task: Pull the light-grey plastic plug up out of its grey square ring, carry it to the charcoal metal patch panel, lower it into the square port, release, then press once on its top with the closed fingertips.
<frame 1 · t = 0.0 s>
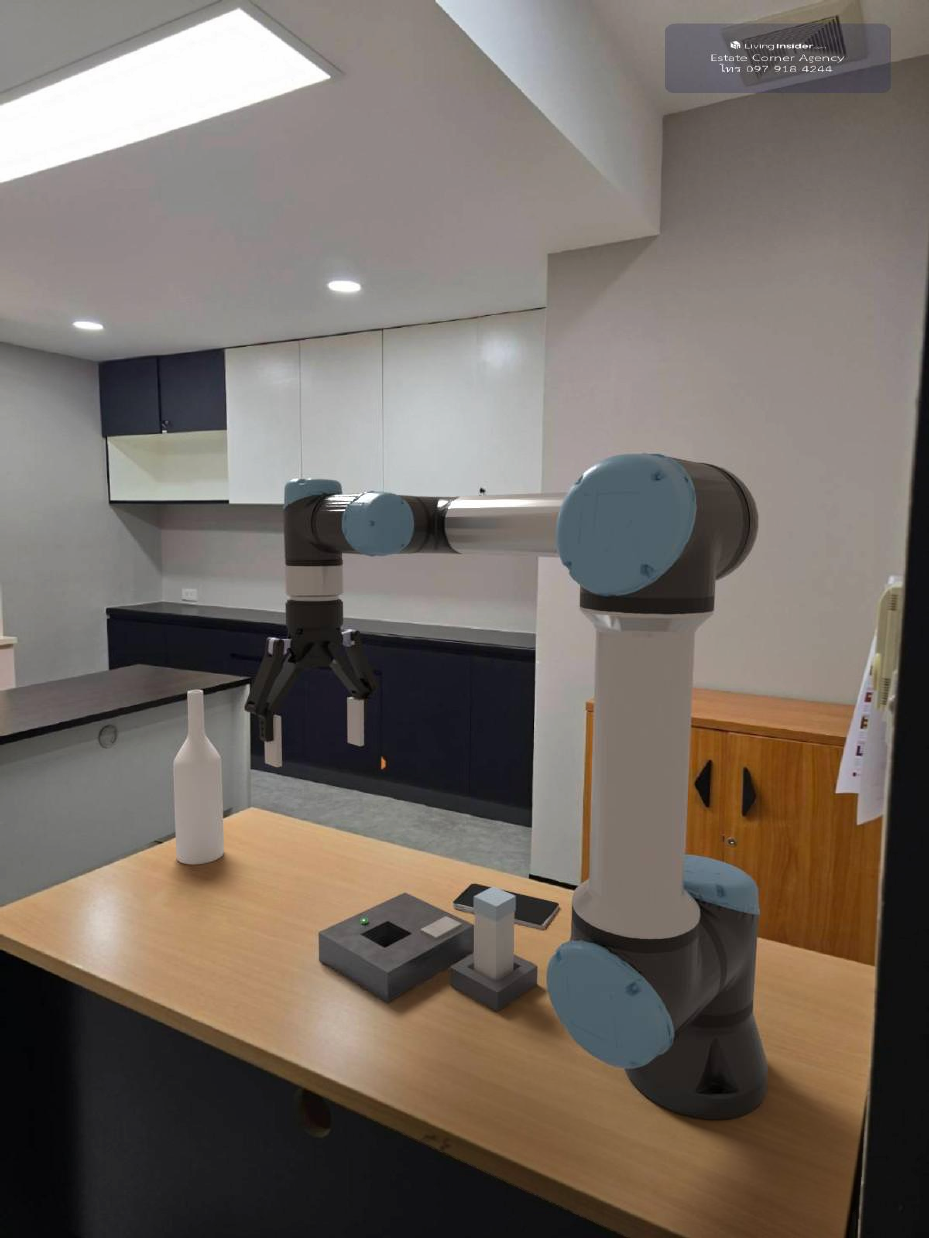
hand: (316, 754, 104), 28 cm above the counter, fingers open, 13 cm apart
plug: (494, 940, 98), in the grey square ring
smartphone: (505, 911, 120), on the counter
grey square ring: (493, 984, 99), on the counter
bottle: (200, 856, 138), on the counter
panel: (397, 955, 106), on the counter
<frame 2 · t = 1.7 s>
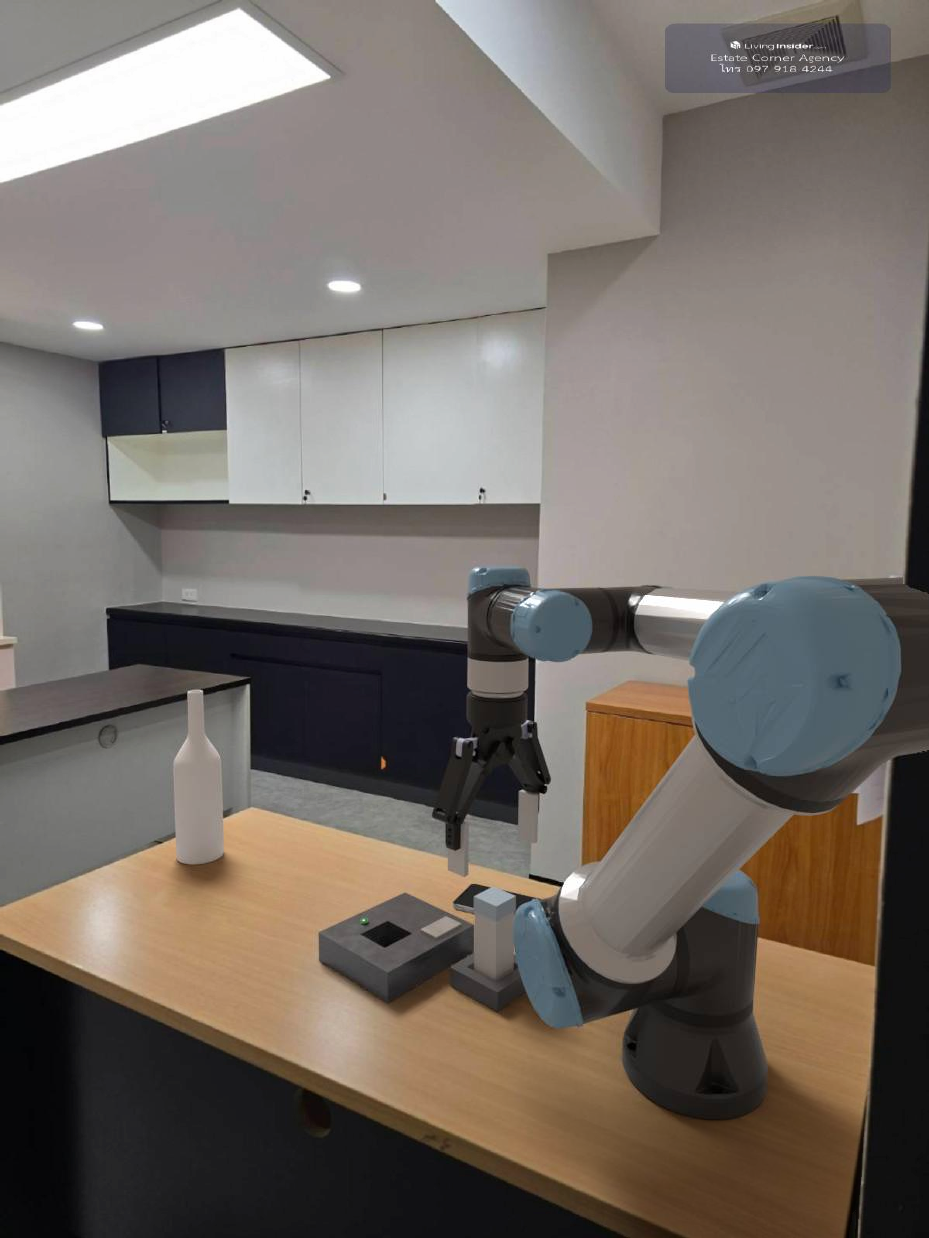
hand: (494, 855, 97), 17 cm above the counter, fingers open, 13 cm apart
nothing on the counter moved.
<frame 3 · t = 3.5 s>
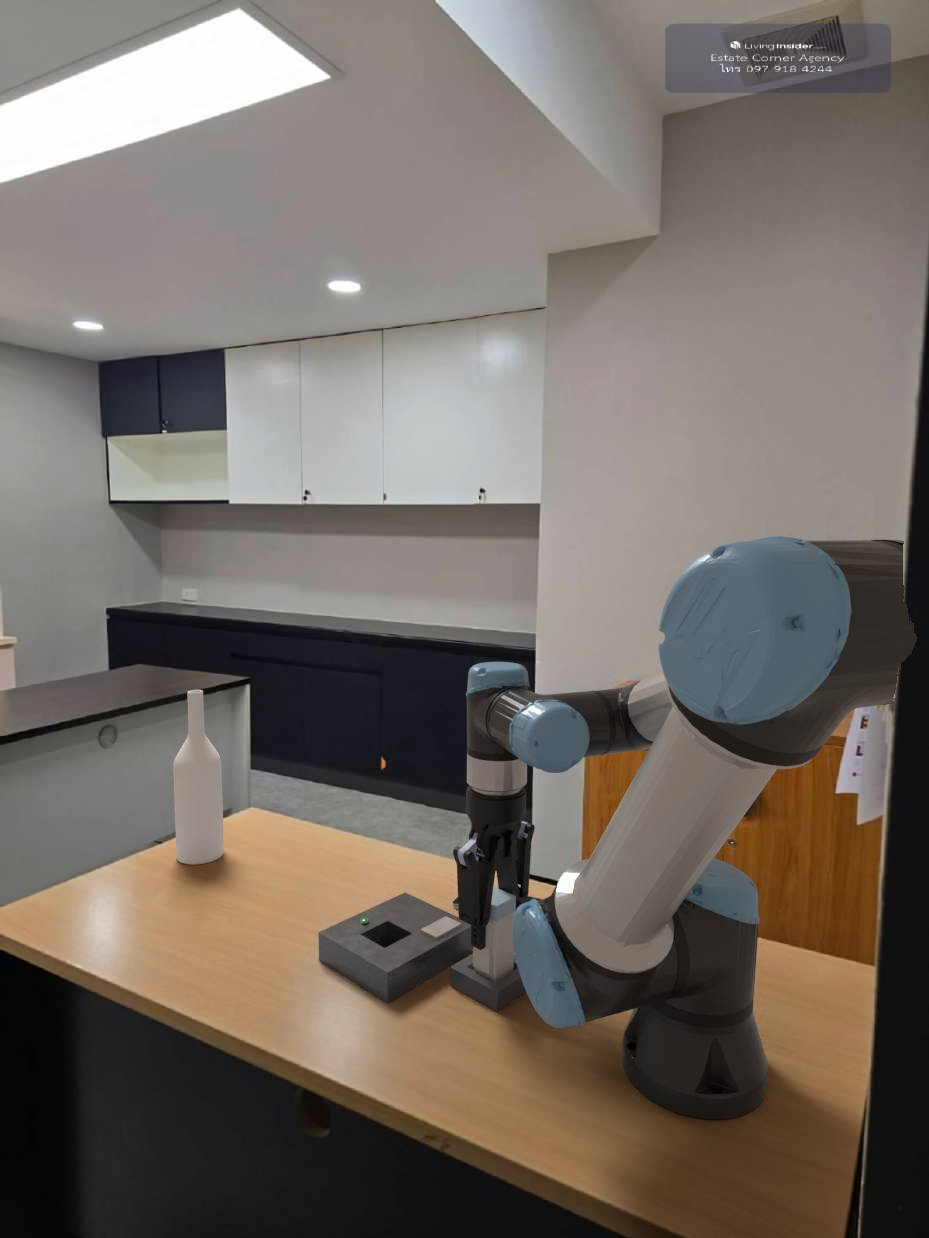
hand: (493, 961, 99), 3 cm above the counter, fingers closed on plug, 4 cm apart
plug: (494, 940, 98), in the grey square ring, touching gripper
everything else where it was.
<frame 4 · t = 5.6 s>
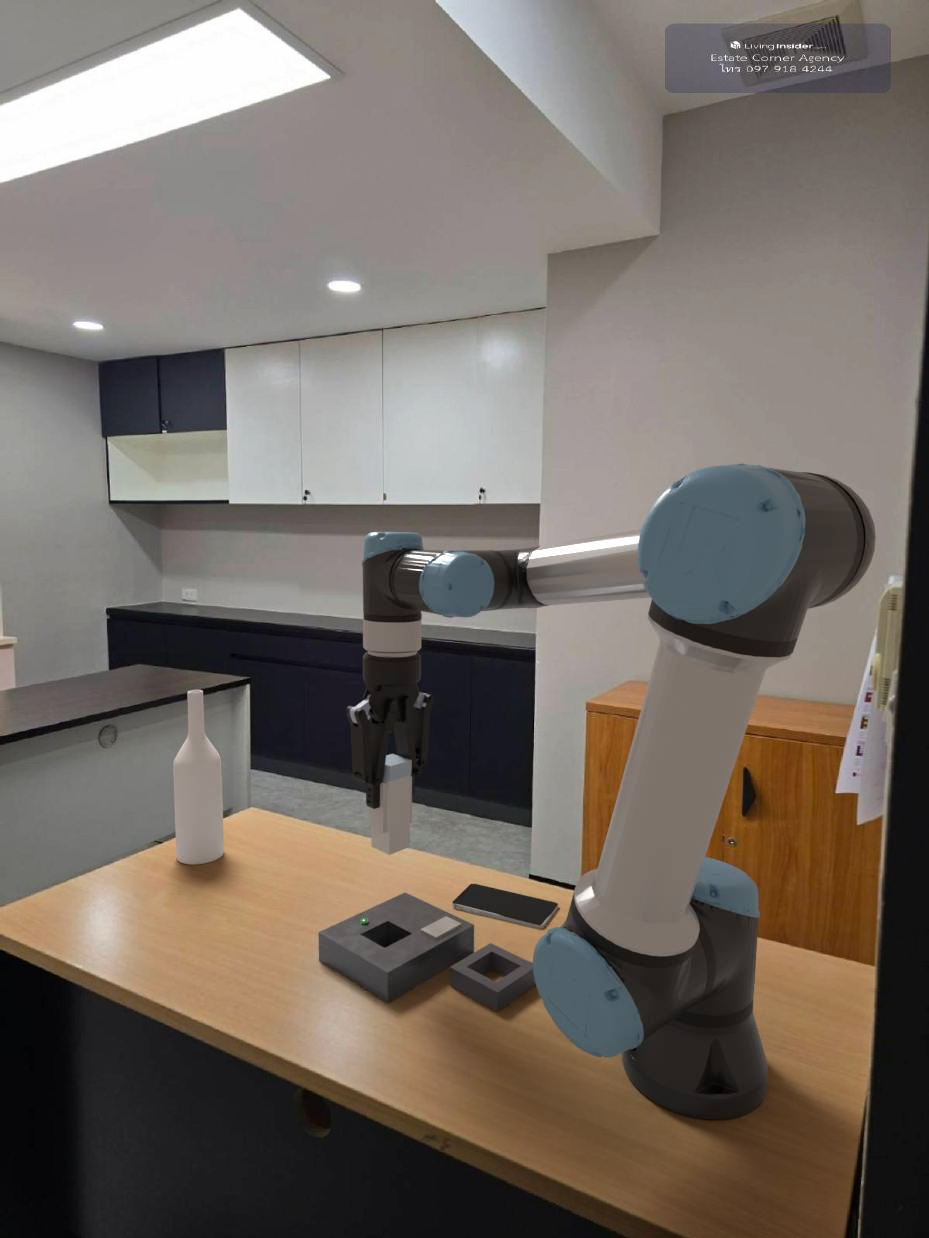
hand: (390, 824, 102), 19 cm above the counter, fingers closed on plug, 4 cm apart
plug: (390, 803, 102), point 22 cm above the counter, touching gripper
everything else where it was.
when the fingers open (5 cm above the counter, at t = 8.0 s): plug drops 2 cm, resting in panel.
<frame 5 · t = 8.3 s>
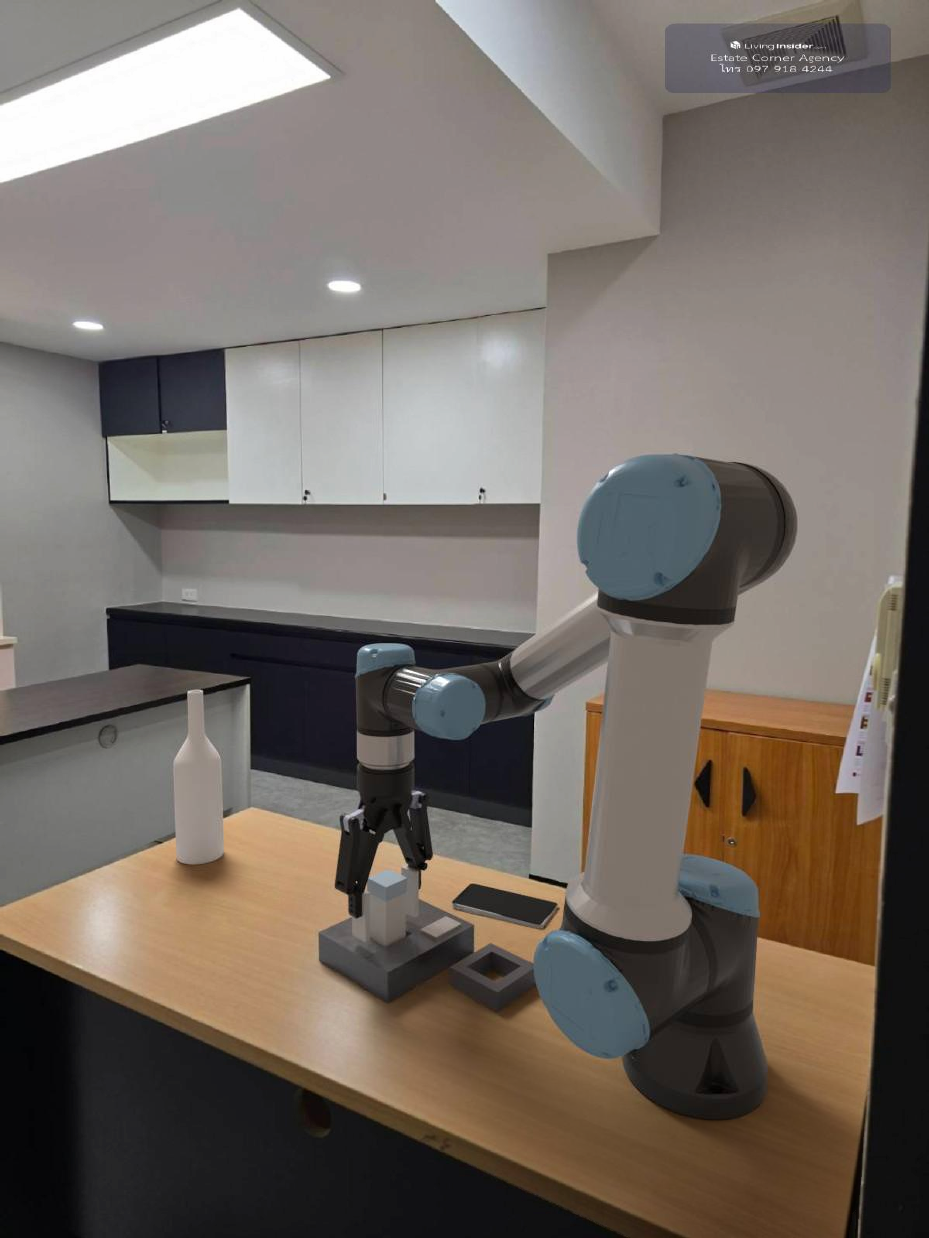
hand: (386, 924, 104), 5 cm above the counter, fingers open, 8 cm apart
plug: (386, 920, 103), in the panel
everything else where it was.
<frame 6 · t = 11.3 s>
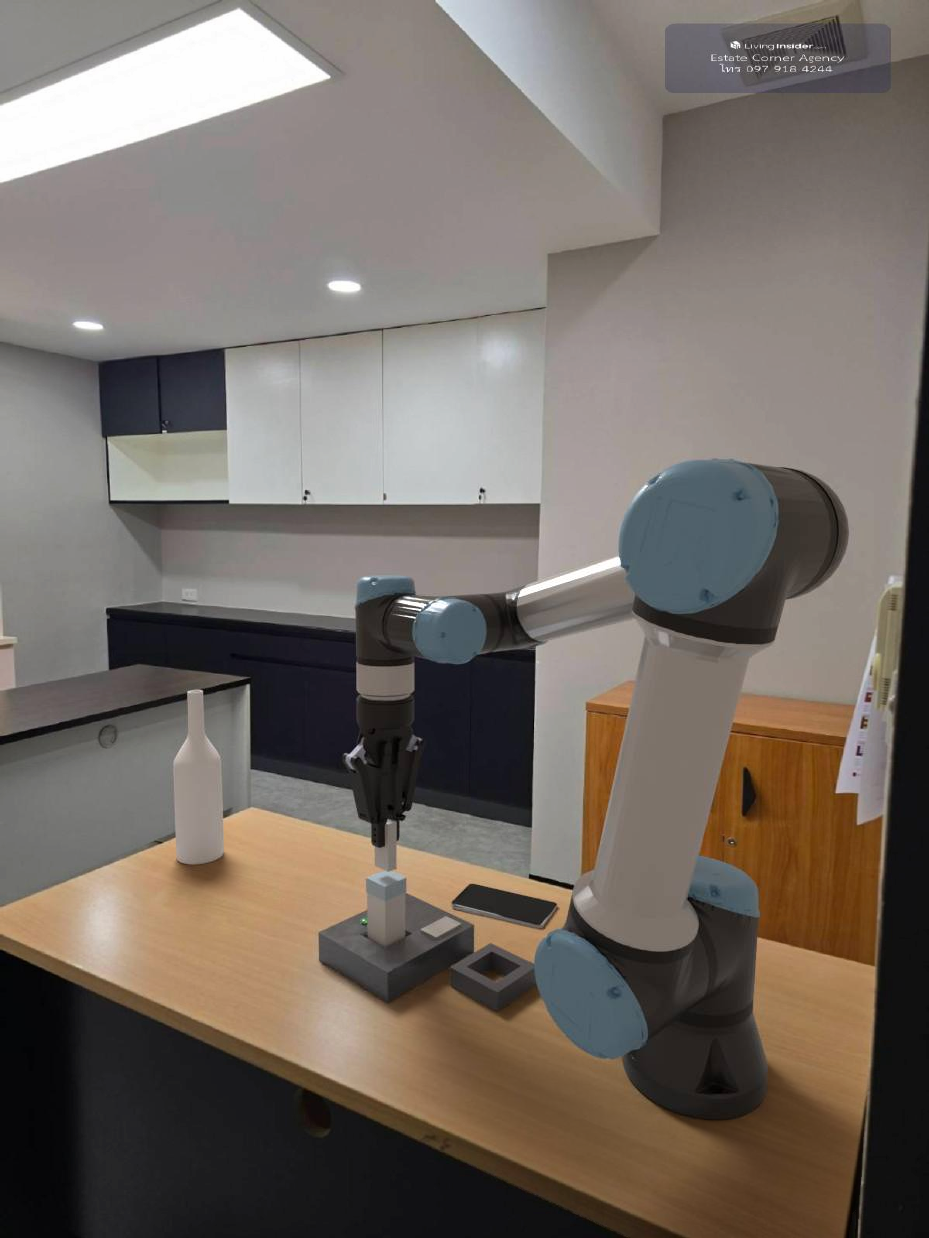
hand: (385, 866, 103), 13 cm above the counter, fingers closed
nothing on the counter moved.
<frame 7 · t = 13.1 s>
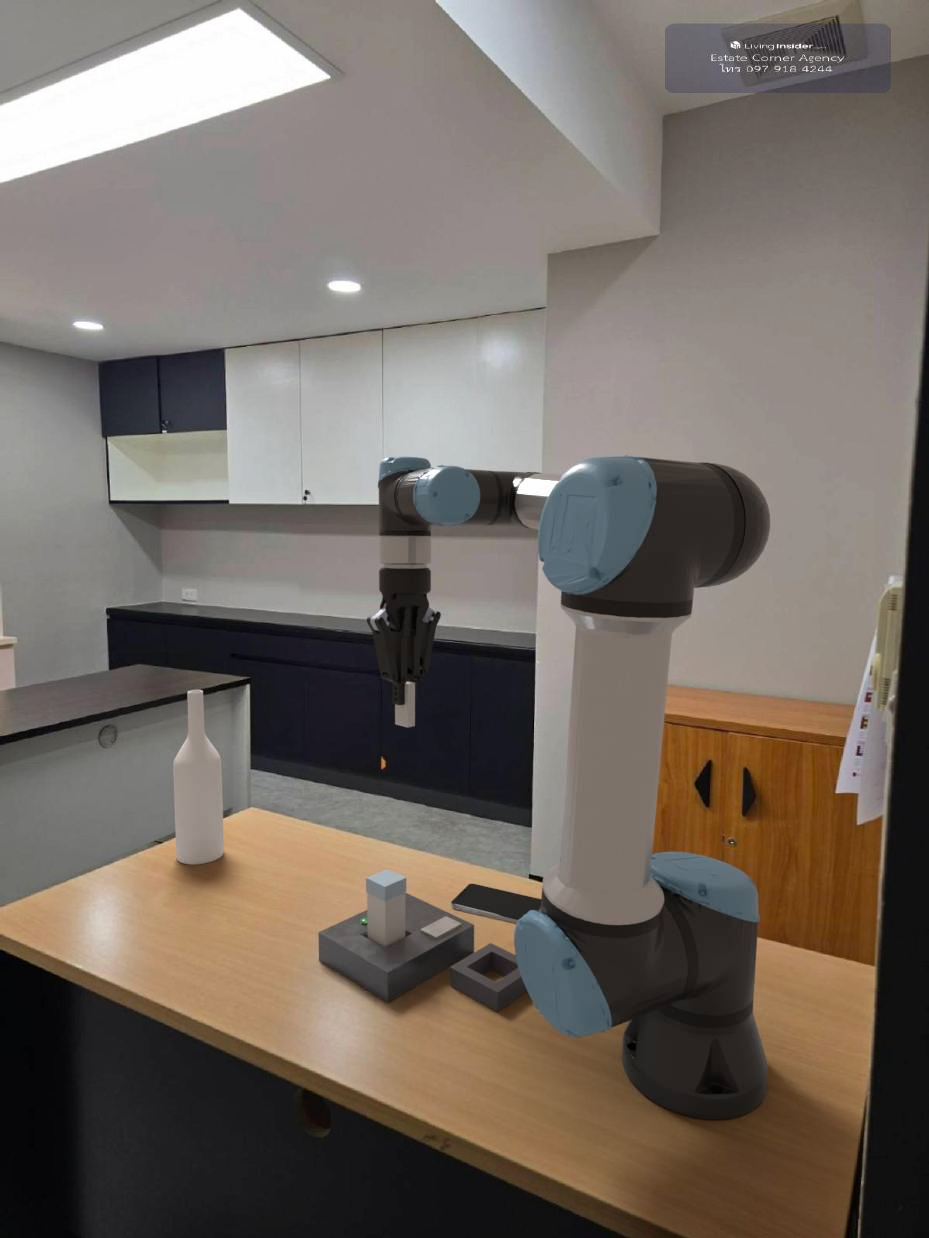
hand: (404, 724, 114), 29 cm above the counter, fingers closed
nothing on the counter moved.
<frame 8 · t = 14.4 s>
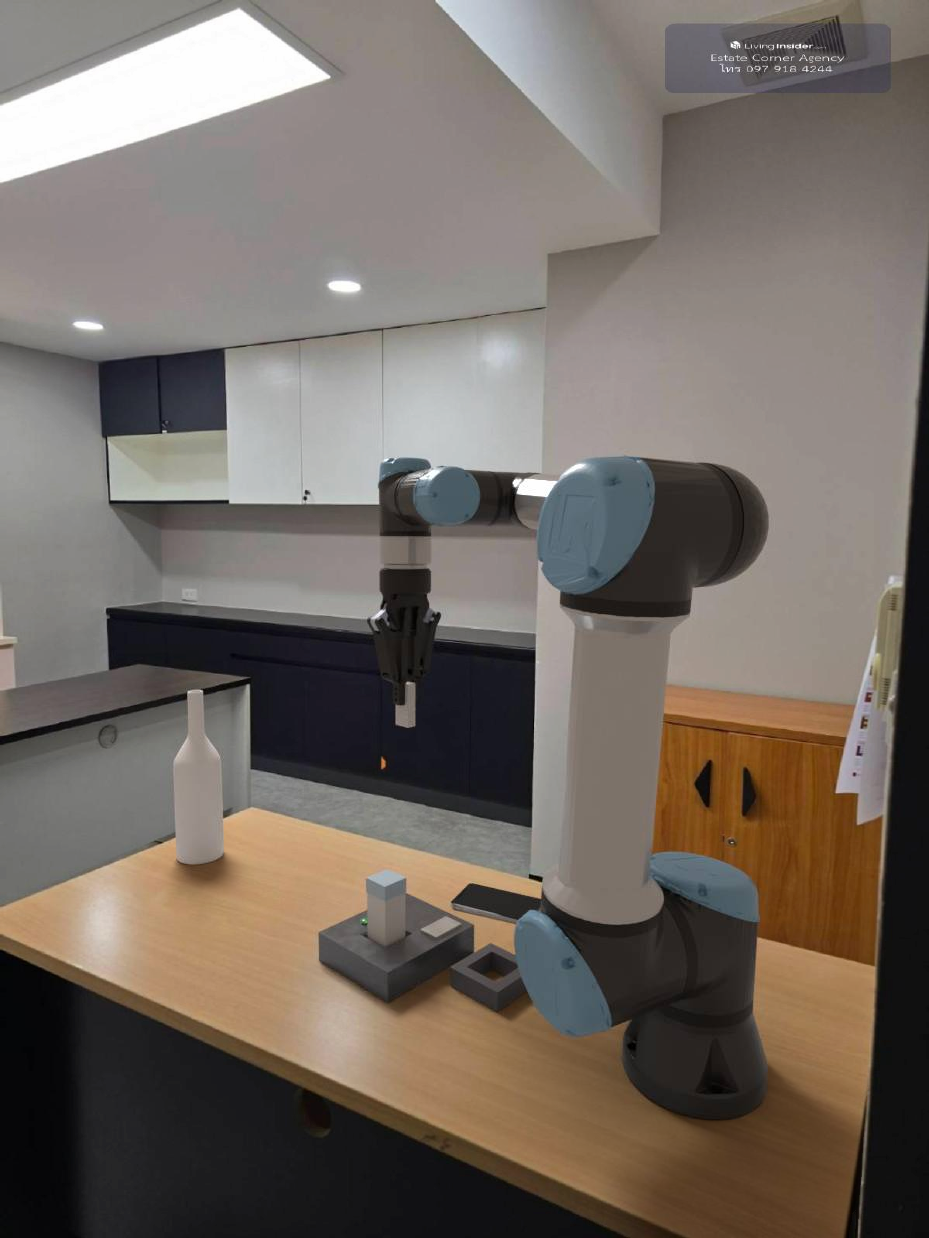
hand: (405, 725, 114), 29 cm above the counter, fingers closed
nothing on the counter moved.
at the end: plug 0.0 cm from the target spot on the panel, point 6.0 cm above the panel's base; plug tilted 0°; the gripper is holding nothing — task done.
